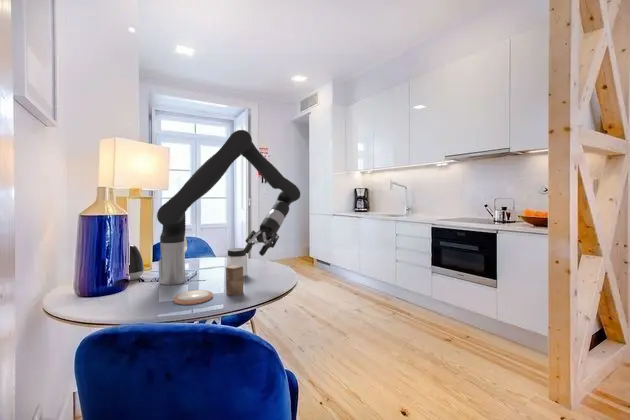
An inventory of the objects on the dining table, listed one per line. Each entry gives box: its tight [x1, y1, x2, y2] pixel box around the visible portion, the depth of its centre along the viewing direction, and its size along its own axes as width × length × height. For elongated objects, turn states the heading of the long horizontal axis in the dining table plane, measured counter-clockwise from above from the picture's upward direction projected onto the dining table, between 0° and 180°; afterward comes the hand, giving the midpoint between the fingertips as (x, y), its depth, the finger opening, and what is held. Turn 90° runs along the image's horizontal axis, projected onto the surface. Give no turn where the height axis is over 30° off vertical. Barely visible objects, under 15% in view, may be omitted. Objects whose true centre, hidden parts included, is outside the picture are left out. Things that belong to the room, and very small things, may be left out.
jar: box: [226, 247, 248, 278], centre depth 145 cm, size 9×8×12 cm
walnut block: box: [225, 265, 244, 297], centre depth 119 cm, size 4×4×10 cm
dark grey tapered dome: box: [129, 244, 145, 281], centre depth 140 cm, size 10×10×15 cm
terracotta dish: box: [173, 289, 214, 306], centre depth 113 cm, size 13×13×1 cm
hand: (253, 253), depth 126 cm, fingers open, 8 cm apart
